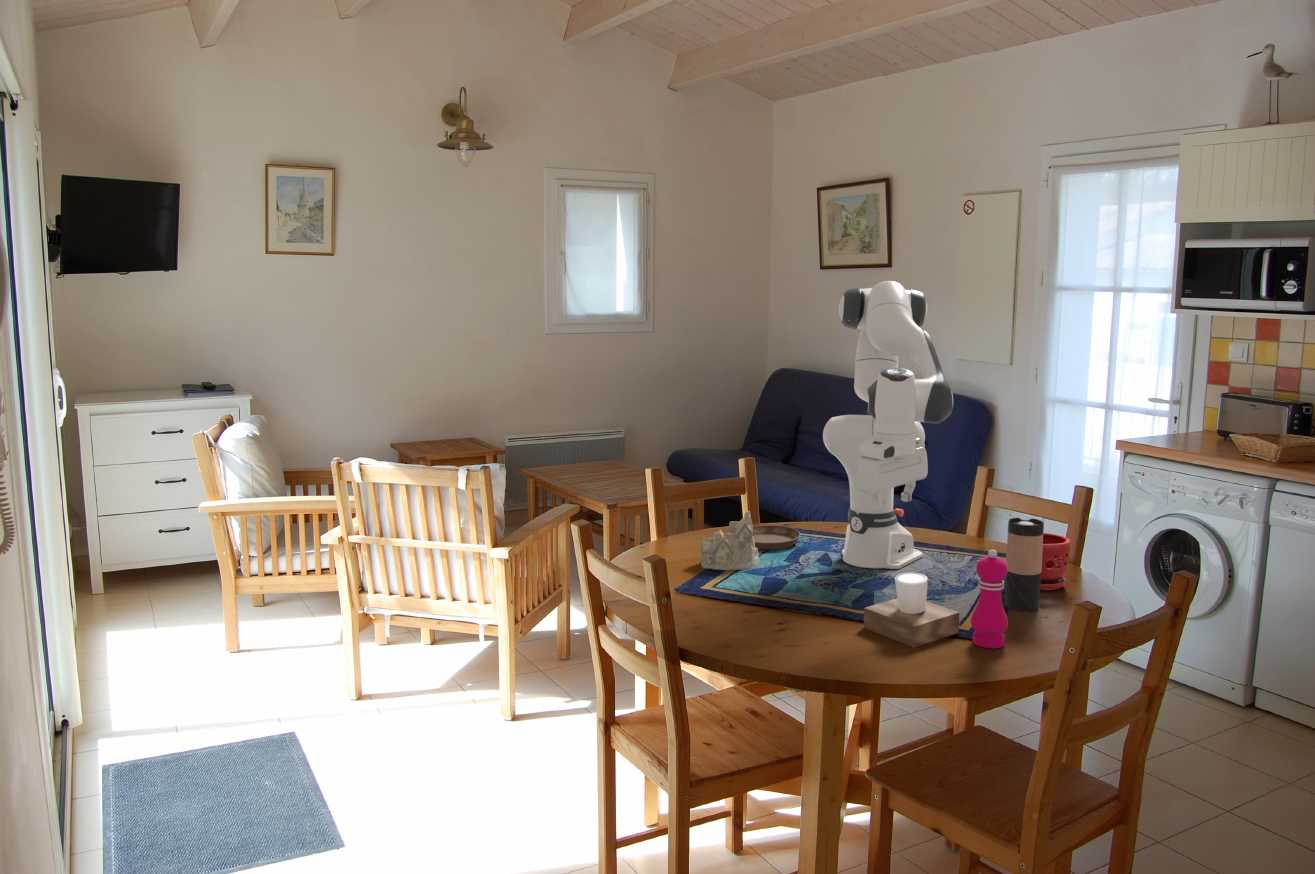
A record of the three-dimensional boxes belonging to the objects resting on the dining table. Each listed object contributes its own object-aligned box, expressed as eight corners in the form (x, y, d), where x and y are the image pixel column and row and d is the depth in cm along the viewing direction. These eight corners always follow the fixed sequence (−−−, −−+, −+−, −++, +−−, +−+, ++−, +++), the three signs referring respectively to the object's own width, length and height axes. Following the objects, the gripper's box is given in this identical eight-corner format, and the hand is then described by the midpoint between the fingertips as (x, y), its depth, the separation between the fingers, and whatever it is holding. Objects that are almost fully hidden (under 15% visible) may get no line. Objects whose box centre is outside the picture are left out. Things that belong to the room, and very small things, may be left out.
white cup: (933, 612, 206) (932, 581, 204) (901, 616, 206) (900, 585, 204) (922, 600, 213) (921, 570, 211) (891, 603, 212) (890, 573, 211)
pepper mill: (964, 637, 205) (968, 545, 202) (997, 635, 206) (1002, 544, 202) (978, 650, 198) (982, 555, 195) (1013, 648, 199) (1017, 554, 195)
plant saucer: (750, 554, 267) (750, 544, 266) (729, 538, 284) (729, 527, 283) (810, 549, 271) (810, 538, 271) (785, 532, 288) (785, 522, 288)
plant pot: (1075, 583, 239) (1078, 536, 236) (1054, 597, 229) (1057, 548, 227) (1023, 573, 247) (1025, 527, 245) (1001, 585, 238) (1003, 538, 236)
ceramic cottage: (761, 552, 267) (758, 499, 264) (758, 573, 251) (754, 517, 248) (705, 554, 270) (701, 502, 267) (698, 574, 254) (694, 519, 251)
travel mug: (1022, 614, 218) (1027, 527, 215) (996, 604, 225) (1000, 519, 221) (1046, 608, 222) (1051, 523, 218) (1020, 598, 228) (1024, 515, 225)
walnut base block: (907, 616, 219) (908, 594, 218) (958, 634, 208) (959, 612, 207) (863, 629, 212) (864, 607, 211) (913, 649, 200) (914, 626, 199)
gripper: (912, 434, 221) (910, 493, 224) (852, 448, 209) (851, 510, 212) (935, 438, 216) (933, 498, 219) (876, 453, 204) (874, 517, 207)
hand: (892, 504), depth 215 cm, fingers open, 8 cm apart
